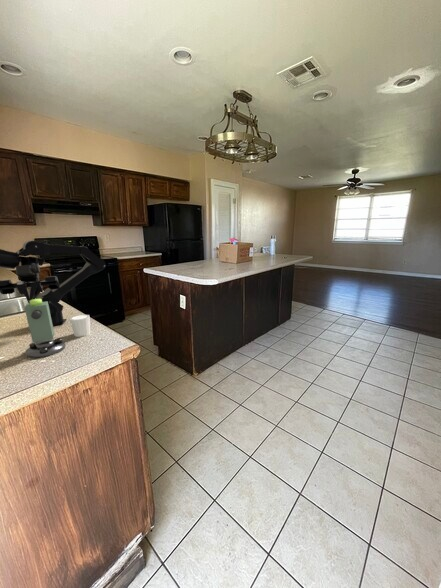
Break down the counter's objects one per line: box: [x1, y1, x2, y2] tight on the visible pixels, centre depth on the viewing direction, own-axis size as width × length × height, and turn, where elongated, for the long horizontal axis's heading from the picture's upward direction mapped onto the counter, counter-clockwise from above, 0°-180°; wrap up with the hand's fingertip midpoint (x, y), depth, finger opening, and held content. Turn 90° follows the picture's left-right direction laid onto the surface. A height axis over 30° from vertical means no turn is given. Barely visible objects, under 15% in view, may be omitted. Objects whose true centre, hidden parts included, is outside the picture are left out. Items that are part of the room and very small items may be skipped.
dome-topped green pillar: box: [24, 298, 55, 344], centre depth 80 cm, size 6×6×15 cm
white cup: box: [69, 314, 91, 338], centre depth 96 cm, size 7×7×7 cm
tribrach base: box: [25, 337, 66, 359], centre depth 84 cm, size 11×11×3 cm
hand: (30, 303), depth 91 cm, fingers closed
